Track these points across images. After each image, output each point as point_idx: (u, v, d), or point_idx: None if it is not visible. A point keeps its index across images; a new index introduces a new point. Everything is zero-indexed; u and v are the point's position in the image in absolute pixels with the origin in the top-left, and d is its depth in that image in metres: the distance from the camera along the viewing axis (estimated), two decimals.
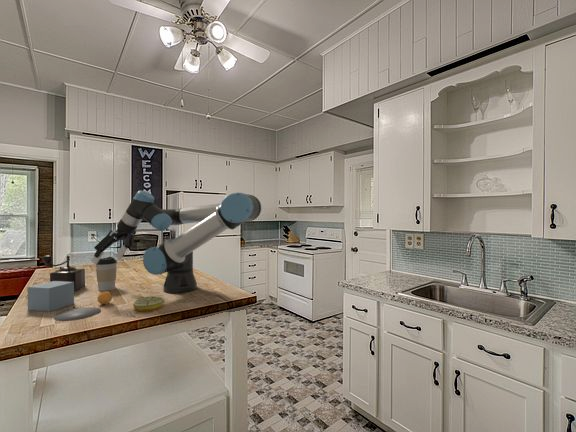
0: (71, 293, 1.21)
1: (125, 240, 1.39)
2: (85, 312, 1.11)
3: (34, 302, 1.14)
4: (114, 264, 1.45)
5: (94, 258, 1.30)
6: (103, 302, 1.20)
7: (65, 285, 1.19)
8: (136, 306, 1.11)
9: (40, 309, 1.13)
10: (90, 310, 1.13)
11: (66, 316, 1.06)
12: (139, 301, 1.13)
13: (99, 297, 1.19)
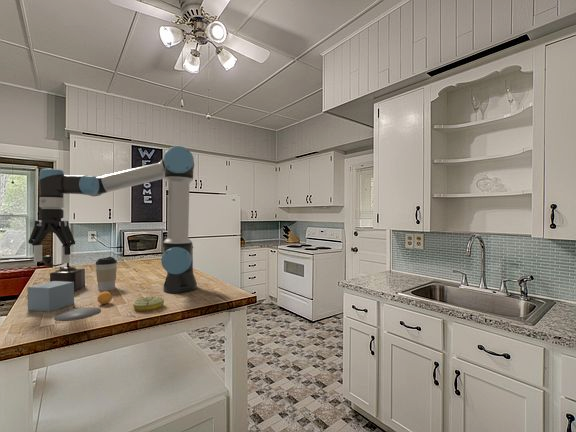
0: (71, 293, 1.21)
1: (46, 233, 1.20)
2: (85, 312, 1.11)
3: (34, 302, 1.14)
4: (114, 264, 1.45)
5: (65, 258, 1.17)
6: (103, 302, 1.20)
7: (65, 285, 1.19)
8: (136, 306, 1.11)
9: (40, 309, 1.13)
10: (90, 310, 1.13)
11: (66, 316, 1.06)
12: (139, 301, 1.13)
13: (99, 297, 1.19)
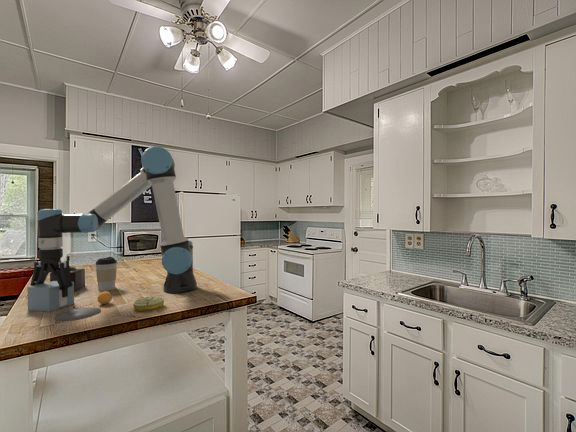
0: (71, 293, 1.21)
1: (46, 274, 1.20)
2: (85, 312, 1.11)
3: (34, 302, 1.14)
4: (114, 264, 1.45)
5: (62, 301, 1.17)
6: (103, 302, 1.20)
7: None
8: (136, 306, 1.11)
9: (40, 309, 1.13)
10: (90, 310, 1.13)
11: (66, 316, 1.06)
12: (139, 301, 1.13)
13: (99, 297, 1.19)
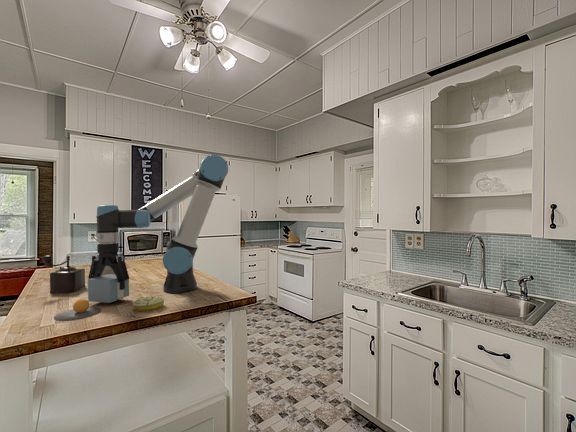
0: (126, 285, 1.26)
1: (103, 267, 1.25)
2: (85, 312, 1.11)
3: (95, 294, 1.19)
4: (114, 264, 1.45)
5: (120, 293, 1.22)
6: (83, 300, 1.11)
7: None
8: (136, 306, 1.11)
9: (101, 300, 1.19)
10: (90, 310, 1.13)
11: (66, 316, 1.06)
12: (139, 301, 1.13)
13: None
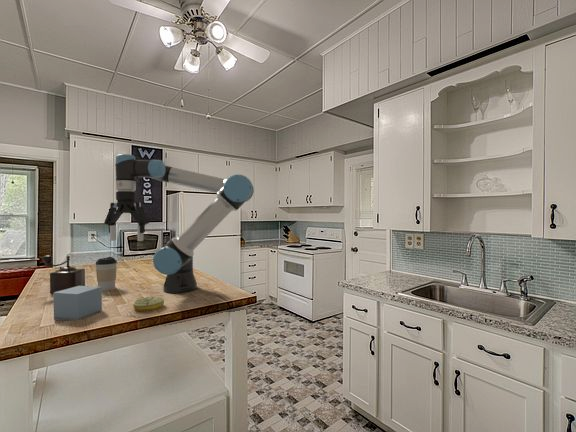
0: (99, 299, 1.13)
1: (120, 214, 1.31)
2: None
3: (61, 309, 1.05)
4: (114, 264, 1.45)
5: (140, 236, 1.27)
6: None
7: (93, 290, 1.10)
8: (136, 306, 1.11)
9: (67, 317, 1.05)
10: None
11: None
12: (139, 301, 1.13)
13: None
